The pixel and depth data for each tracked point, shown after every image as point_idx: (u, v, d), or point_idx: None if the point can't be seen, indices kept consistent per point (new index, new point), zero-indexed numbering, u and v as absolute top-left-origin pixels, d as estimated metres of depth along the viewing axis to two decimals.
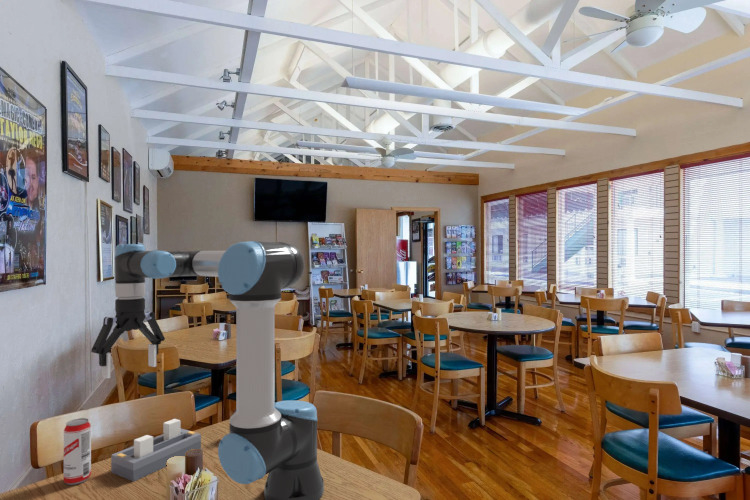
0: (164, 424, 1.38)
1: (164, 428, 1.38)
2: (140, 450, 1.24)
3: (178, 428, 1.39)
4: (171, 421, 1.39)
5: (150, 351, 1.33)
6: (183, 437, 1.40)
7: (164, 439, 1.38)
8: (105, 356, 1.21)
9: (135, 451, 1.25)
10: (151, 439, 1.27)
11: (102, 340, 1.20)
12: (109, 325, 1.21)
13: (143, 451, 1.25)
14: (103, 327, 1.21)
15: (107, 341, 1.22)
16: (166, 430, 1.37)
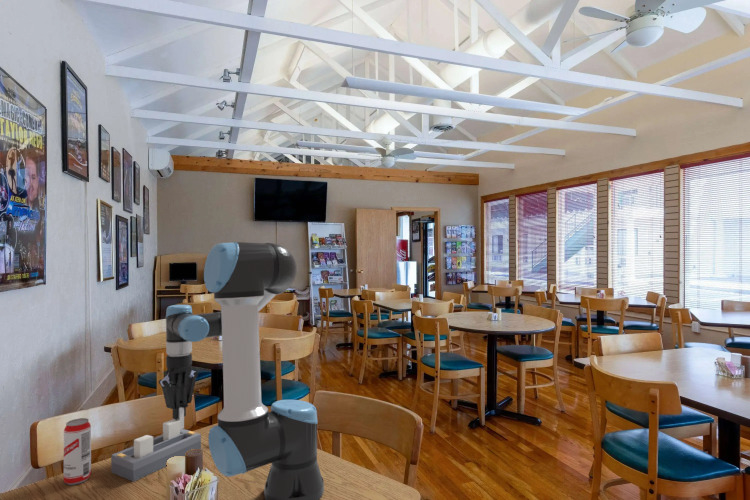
0: (164, 424, 1.37)
1: (163, 428, 1.38)
2: (140, 450, 1.24)
3: (177, 428, 1.39)
4: (171, 421, 1.39)
5: None
6: (183, 437, 1.40)
7: (164, 439, 1.37)
8: (178, 410, 1.40)
9: (135, 451, 1.25)
10: (151, 439, 1.27)
11: (170, 399, 1.37)
12: (167, 386, 1.36)
13: (143, 451, 1.25)
14: (163, 388, 1.37)
15: (173, 398, 1.40)
16: (166, 430, 1.37)
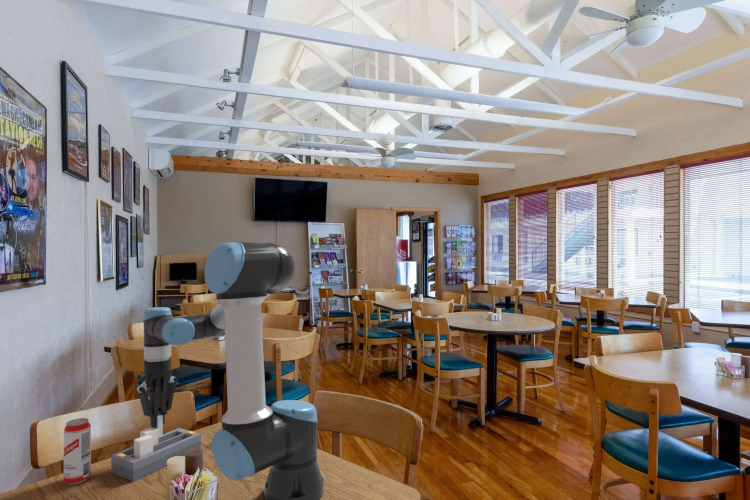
0: (141, 432, 1.31)
1: None
2: (140, 450, 1.24)
3: (155, 436, 1.33)
4: (148, 430, 1.32)
5: None
6: (183, 437, 1.40)
7: None
8: (156, 418, 1.33)
9: (135, 451, 1.25)
10: (151, 439, 1.27)
11: (147, 406, 1.31)
12: (144, 393, 1.30)
13: (143, 451, 1.25)
14: (140, 395, 1.30)
15: (151, 405, 1.33)
16: None
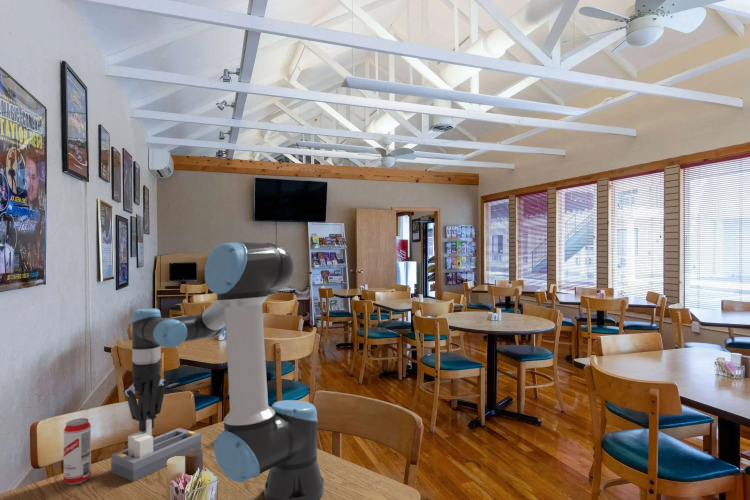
0: (129, 437, 1.28)
1: (128, 442, 1.28)
2: (140, 450, 1.24)
3: None
4: (137, 434, 1.29)
5: None
6: (183, 437, 1.40)
7: (129, 453, 1.28)
8: (144, 422, 1.30)
9: (135, 451, 1.25)
10: (151, 439, 1.27)
11: (135, 410, 1.27)
12: (132, 397, 1.27)
13: (143, 451, 1.25)
14: (128, 399, 1.27)
15: (140, 408, 1.30)
16: (131, 444, 1.27)
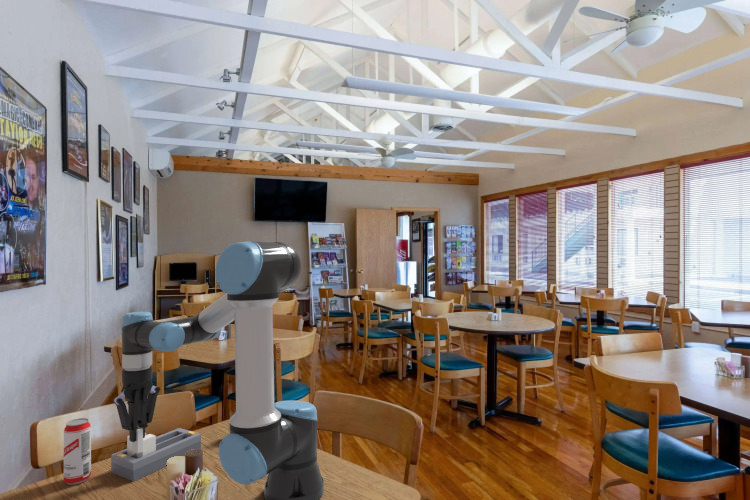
0: (128, 437, 1.28)
1: (128, 442, 1.28)
2: (143, 448, 1.25)
3: None
4: None
5: None
6: (183, 437, 1.40)
7: (128, 454, 1.28)
8: (135, 431, 1.24)
9: None
10: (154, 438, 1.28)
11: (126, 419, 1.21)
12: (122, 405, 1.20)
13: (145, 450, 1.26)
14: (118, 407, 1.21)
15: (130, 417, 1.23)
16: (130, 444, 1.27)
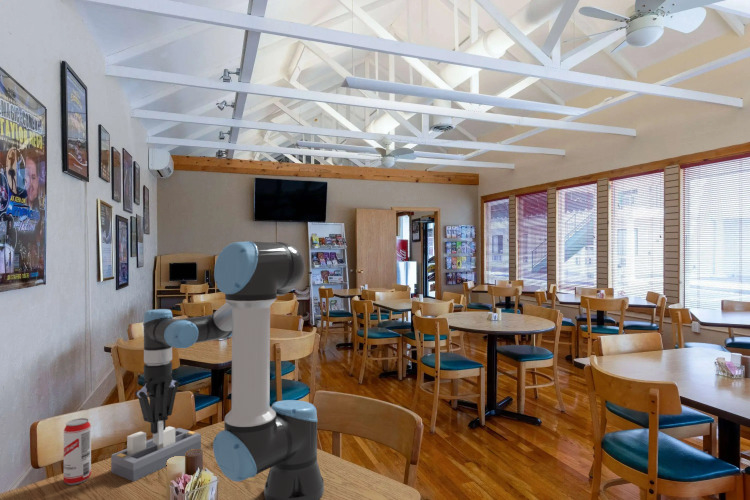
0: (128, 437, 1.28)
1: (128, 442, 1.28)
2: (163, 440, 1.30)
3: (143, 441, 1.29)
4: (136, 434, 1.29)
5: None
6: (183, 437, 1.40)
7: (128, 454, 1.28)
8: (156, 424, 1.29)
9: None
10: (173, 430, 1.33)
11: (148, 411, 1.26)
12: (144, 398, 1.25)
13: (166, 442, 1.31)
14: (140, 400, 1.26)
15: (151, 410, 1.29)
16: (130, 444, 1.27)
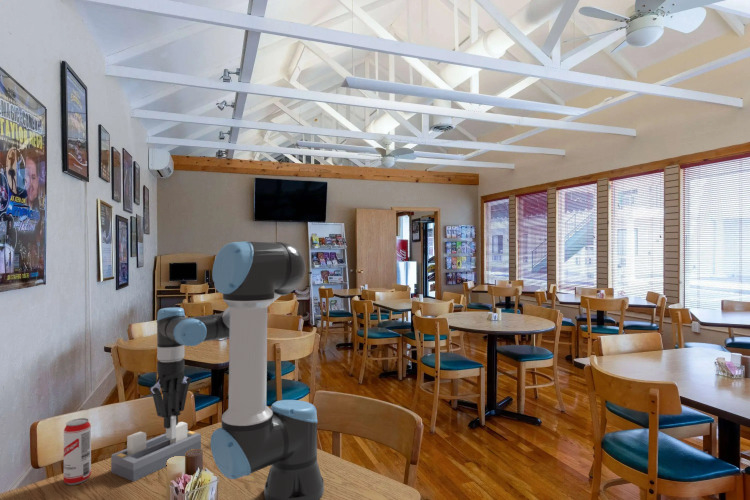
0: (128, 437, 1.28)
1: (128, 442, 1.28)
2: (176, 435, 1.34)
3: (143, 441, 1.29)
4: (136, 434, 1.29)
5: None
6: None
7: (128, 454, 1.28)
8: (169, 419, 1.33)
9: None
10: (185, 425, 1.37)
11: (161, 407, 1.30)
12: (158, 394, 1.29)
13: (178, 436, 1.35)
14: (154, 396, 1.30)
15: (164, 405, 1.33)
16: (130, 444, 1.27)
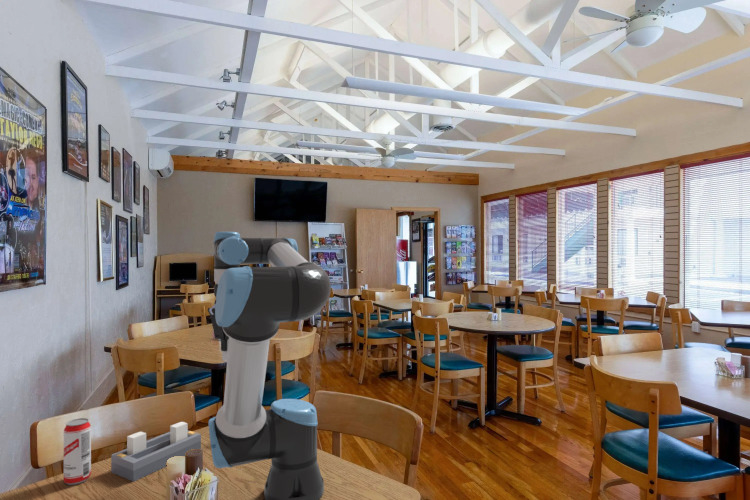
0: (128, 437, 1.28)
1: (128, 442, 1.28)
2: (176, 435, 1.34)
3: (143, 441, 1.29)
4: (136, 434, 1.29)
5: None
6: None
7: (128, 454, 1.28)
8: (226, 342, 1.33)
9: (171, 436, 1.35)
10: (186, 425, 1.37)
11: (219, 328, 1.30)
12: None
13: (178, 436, 1.35)
14: (212, 317, 1.30)
15: (221, 328, 1.33)
16: (130, 444, 1.27)
